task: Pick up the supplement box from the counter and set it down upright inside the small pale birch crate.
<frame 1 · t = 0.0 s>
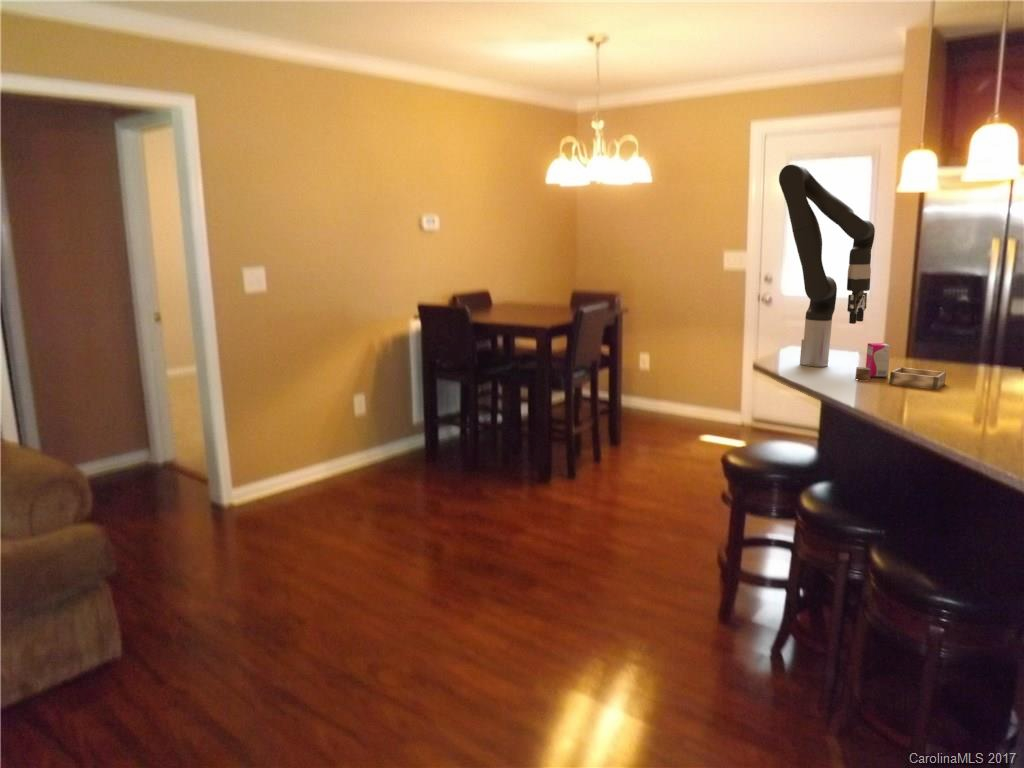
hand: (856, 322, 272), 17 cm above the countertop, tool pointing down, fingers open, 8 cm apart
crate: (916, 384, 249), on the countertop
supplement box: (875, 377, 261), on the countertop
walnut block: (862, 379, 256), on the countertop
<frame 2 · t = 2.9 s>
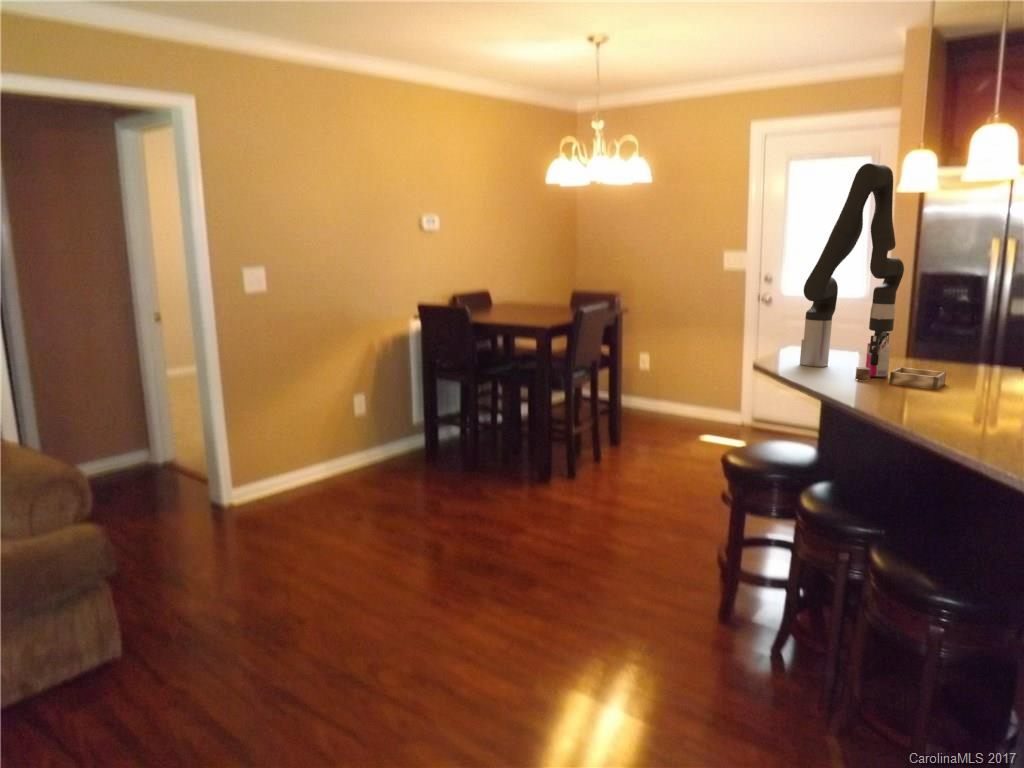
hand: (877, 363, 260), 5 cm above the countertop, tool pointing down, fingers closed on supplement box, 8 cm apart
supplement box: (875, 377, 261), on the countertop, touching gripper
everything else where it was.
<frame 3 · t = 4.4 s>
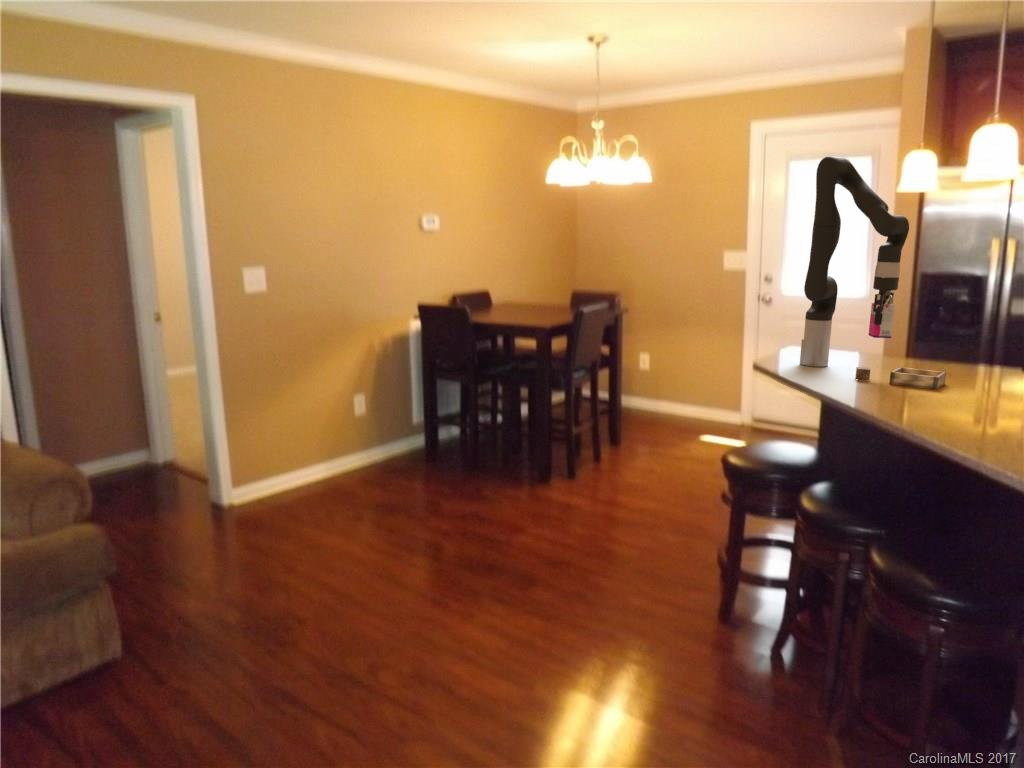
hand: (881, 323, 258), 19 cm above the countertop, tool pointing down, fingers closed on supplement box, 8 cm apart
supplement box: (879, 337, 259), point 14 cm above the countertop, touching gripper
everything else where it was.
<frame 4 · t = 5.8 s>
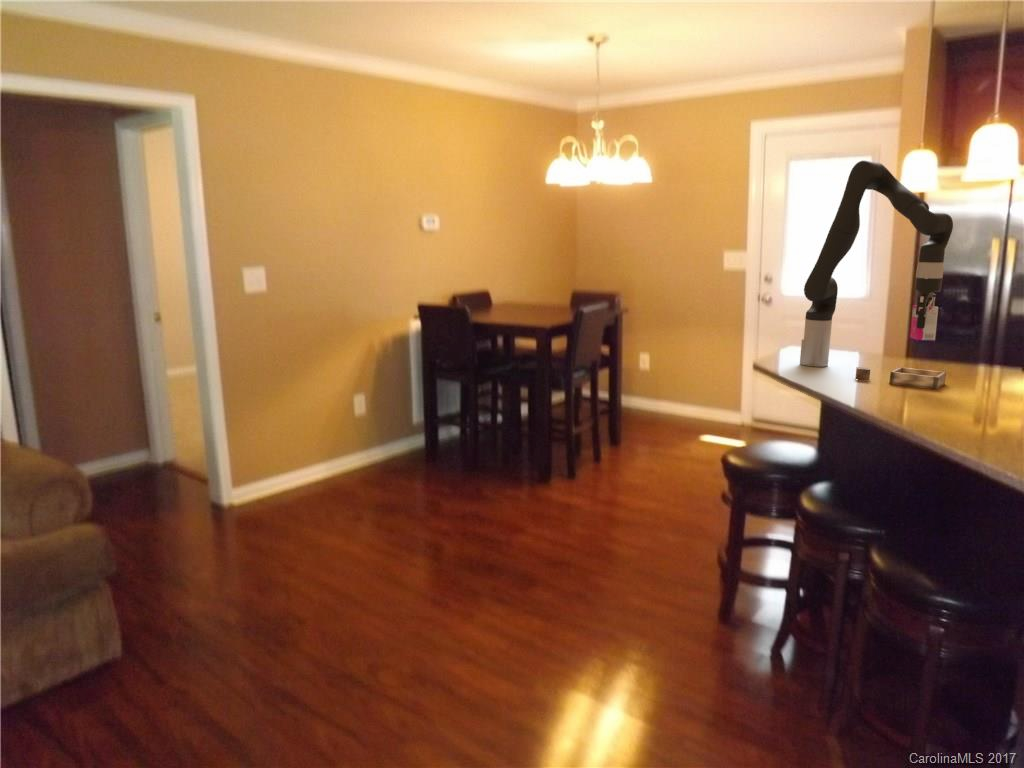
hand: (923, 326, 245), 19 cm above the countertop, tool pointing down, fingers closed on supplement box, 8 cm apart
supplement box: (921, 341, 246), point 14 cm above the countertop, touching gripper
everything else where it was.
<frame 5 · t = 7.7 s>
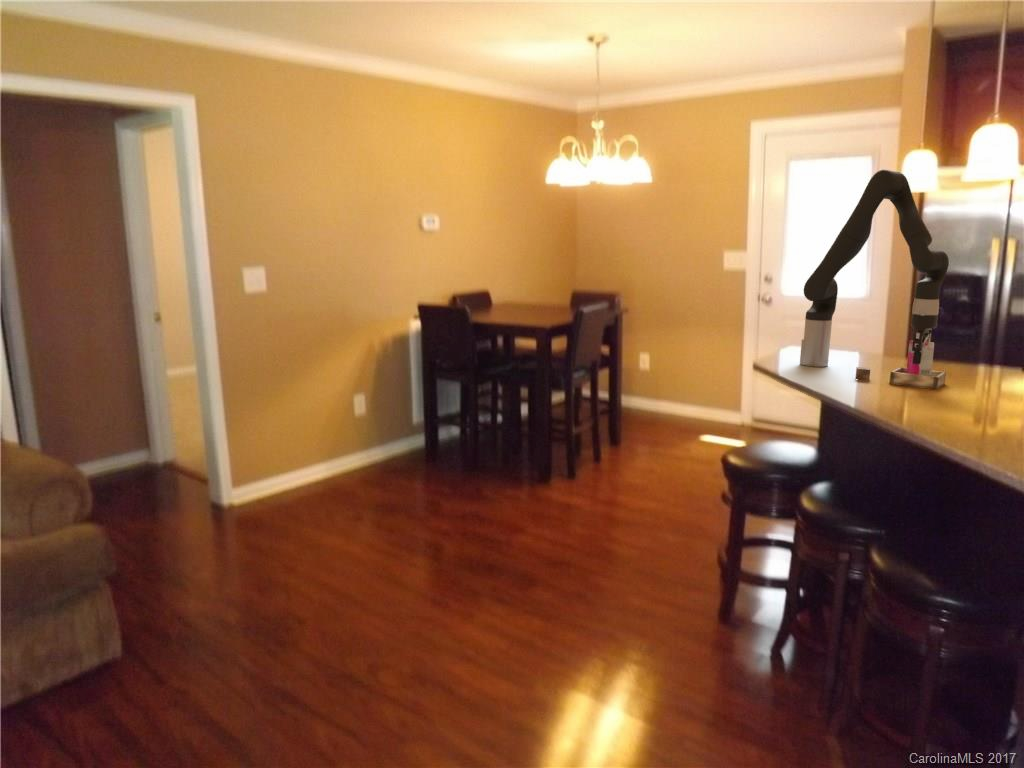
hand: (919, 362, 247), 7 cm above the countertop, tool pointing down, fingers closed on supplement box, 8 cm apart
supplement box: (918, 376, 248), point 3 cm above the countertop, touching gripper
everything else where it was.
when the fingers open (7 cm above the countertop, at t = 9.1 s): supplement box stays where it is, resting on crate.
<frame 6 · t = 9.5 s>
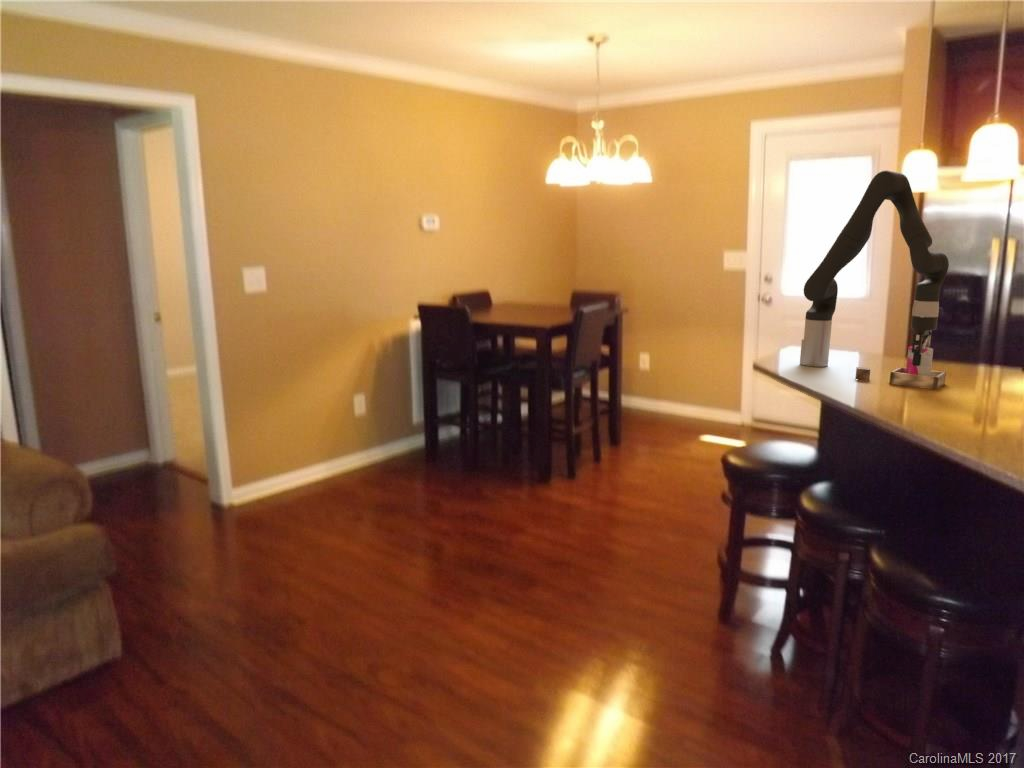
hand: (919, 363, 247), 7 cm above the countertop, tool pointing down, fingers open, 8 cm apart
supplement box: (917, 382, 249), point 1 cm above the countertop, touching crate, gripper
everything else where it was.
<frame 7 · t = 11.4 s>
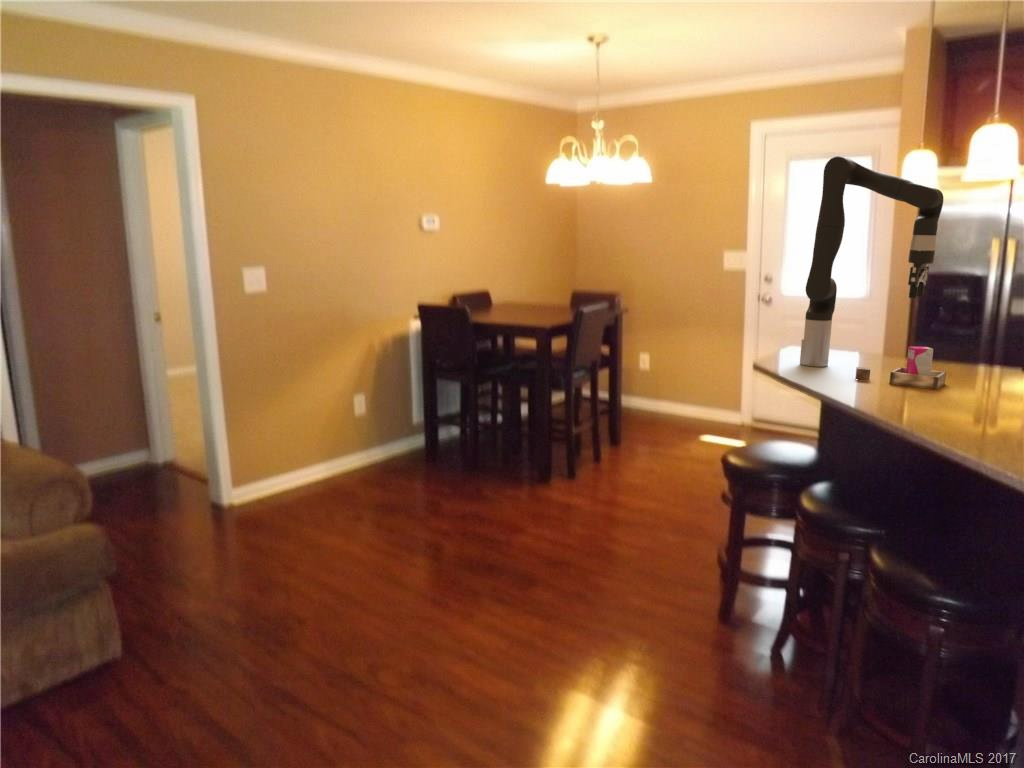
hand: (915, 297, 256), 28 cm above the countertop, tool pointing down, fingers open, 8 cm apart
supplement box: (917, 382, 249), point 1 cm above the countertop, touching crate
everything else where it was.
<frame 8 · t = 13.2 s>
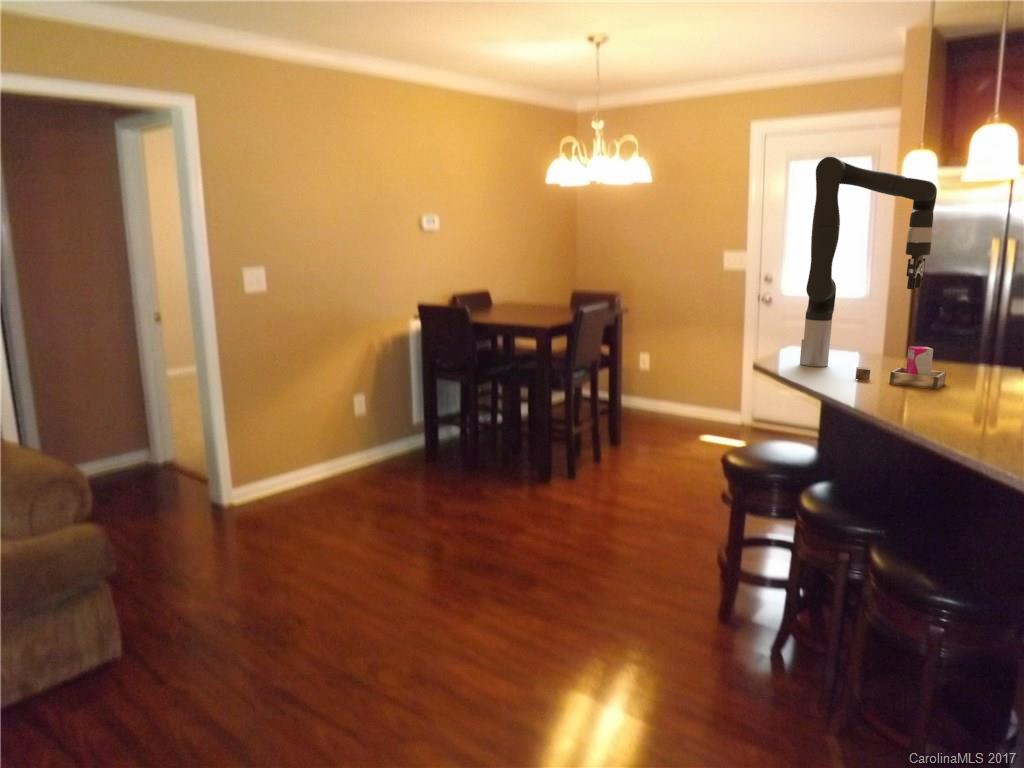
hand: (913, 288, 261), 30 cm above the countertop, tool pointing down, fingers open, 8 cm apart
nothing on the countertop moved.
at the end: supplement box 0.2 cm from the crate (horizontally); supplement box touching crate; supplement box tilted 0° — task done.
